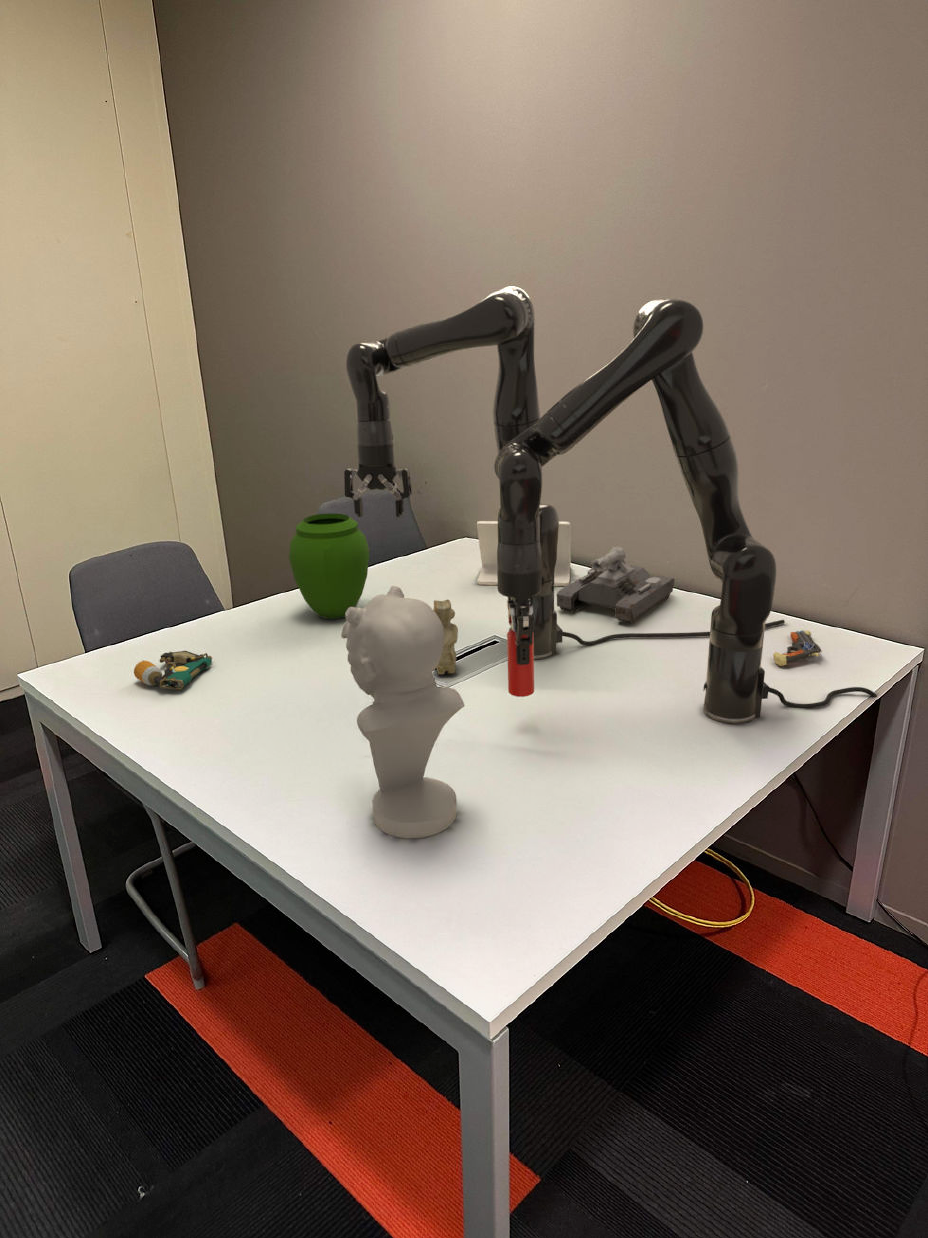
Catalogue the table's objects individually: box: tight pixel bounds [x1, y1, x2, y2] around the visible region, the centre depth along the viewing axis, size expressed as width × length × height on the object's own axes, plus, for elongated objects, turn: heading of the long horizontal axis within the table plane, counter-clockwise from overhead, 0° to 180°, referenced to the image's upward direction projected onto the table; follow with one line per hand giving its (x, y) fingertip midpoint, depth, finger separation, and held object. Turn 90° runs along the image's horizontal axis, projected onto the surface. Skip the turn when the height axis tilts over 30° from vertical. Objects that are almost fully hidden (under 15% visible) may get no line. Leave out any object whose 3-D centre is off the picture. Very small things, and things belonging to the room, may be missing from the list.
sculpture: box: [433, 599, 459, 675], centre depth 177 cm, size 6×7×15 cm
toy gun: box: [772, 630, 823, 667], centre depth 183 cm, size 3×19×10 cm
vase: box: [288, 512, 370, 620], centre depth 209 cm, size 20×20×24 cm
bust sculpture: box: [340, 585, 465, 839], centre depth 128 cm, size 16×24×35 cm, turn 28°
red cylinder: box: [506, 630, 535, 698], centre depth 151 cm, size 5×5×11 cm
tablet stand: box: [476, 520, 572, 587], centre depth 236 cm, size 18×25×17 cm
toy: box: [556, 546, 676, 624], centre depth 212 cm, size 25×20×15 cm
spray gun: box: [133, 650, 213, 690], centre depth 180 cm, size 4×17×15 cm
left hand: (379, 516), depth 186 cm, fingers open, 8 cm apart
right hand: (520, 657), depth 150 cm, fingers closed on red cylinder, 4 cm apart
